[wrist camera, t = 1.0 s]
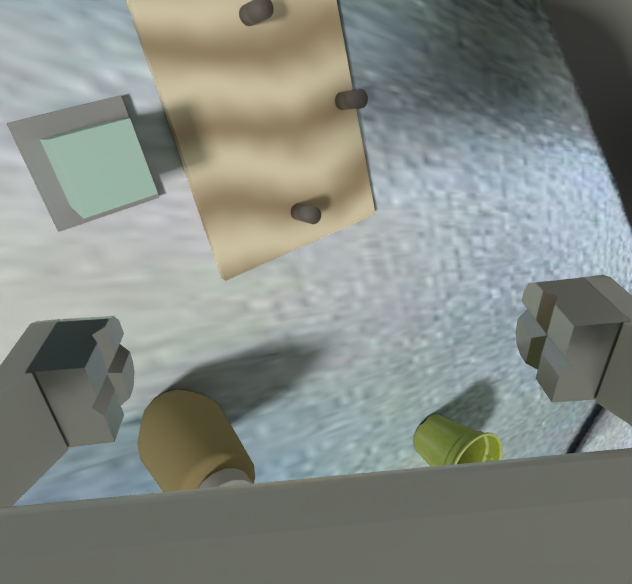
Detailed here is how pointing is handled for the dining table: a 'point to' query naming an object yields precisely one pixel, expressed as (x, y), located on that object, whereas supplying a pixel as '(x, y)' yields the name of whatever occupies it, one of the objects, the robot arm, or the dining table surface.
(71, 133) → the flange block
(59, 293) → the dining table surface
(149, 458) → the squeeze bottle
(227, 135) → the locating board
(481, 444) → the plant pot
